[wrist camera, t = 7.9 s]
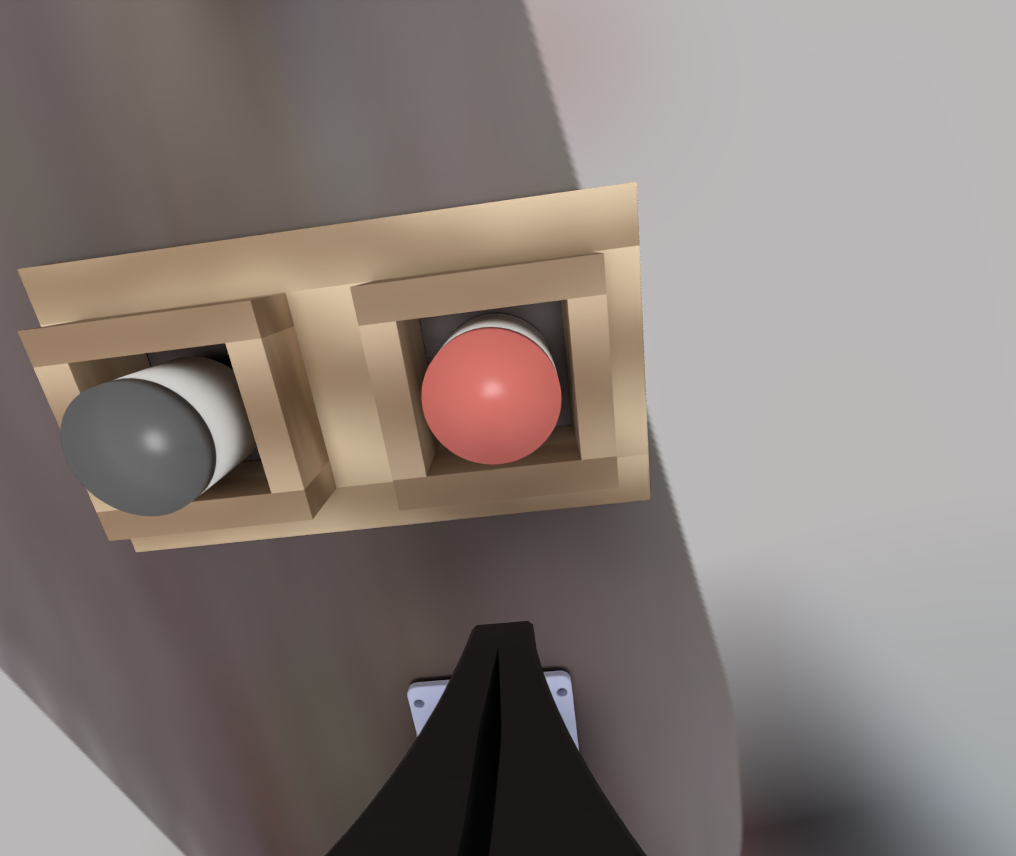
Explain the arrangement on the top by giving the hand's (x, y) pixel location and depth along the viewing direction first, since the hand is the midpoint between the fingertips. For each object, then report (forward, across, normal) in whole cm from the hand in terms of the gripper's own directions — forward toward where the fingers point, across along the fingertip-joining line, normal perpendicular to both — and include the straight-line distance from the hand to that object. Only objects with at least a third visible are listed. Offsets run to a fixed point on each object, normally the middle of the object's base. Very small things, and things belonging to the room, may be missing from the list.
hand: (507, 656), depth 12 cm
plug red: (+10, 0, -4) cm, 11 cm away
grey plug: (+9, +11, -4) cm, 15 cm away
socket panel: (+10, +6, -4) cm, 13 cm away
